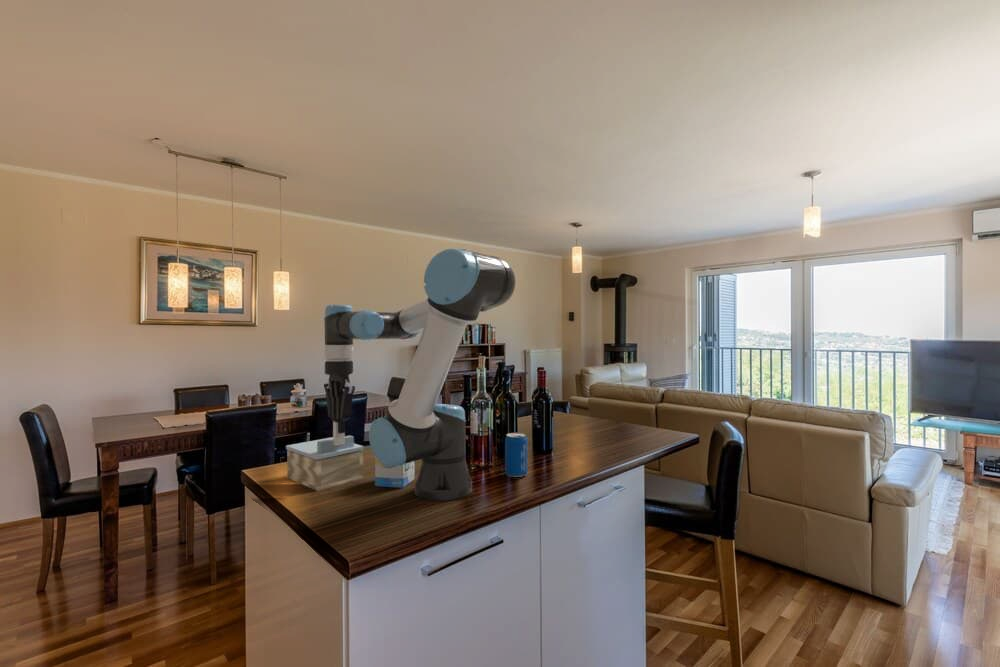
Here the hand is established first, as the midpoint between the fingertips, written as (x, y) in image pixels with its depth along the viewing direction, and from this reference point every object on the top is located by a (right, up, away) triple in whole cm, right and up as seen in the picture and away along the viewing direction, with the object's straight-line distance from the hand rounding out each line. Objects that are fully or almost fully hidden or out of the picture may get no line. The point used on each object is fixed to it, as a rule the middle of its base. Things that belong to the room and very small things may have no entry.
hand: (339, 444), depth 128 cm
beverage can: (+50, -11, +7) cm, 52 cm away
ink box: (+16, -11, +1) cm, 19 cm away
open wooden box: (-6, -11, +5) cm, 14 cm away
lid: (-6, -3, +5) cm, 9 cm away
